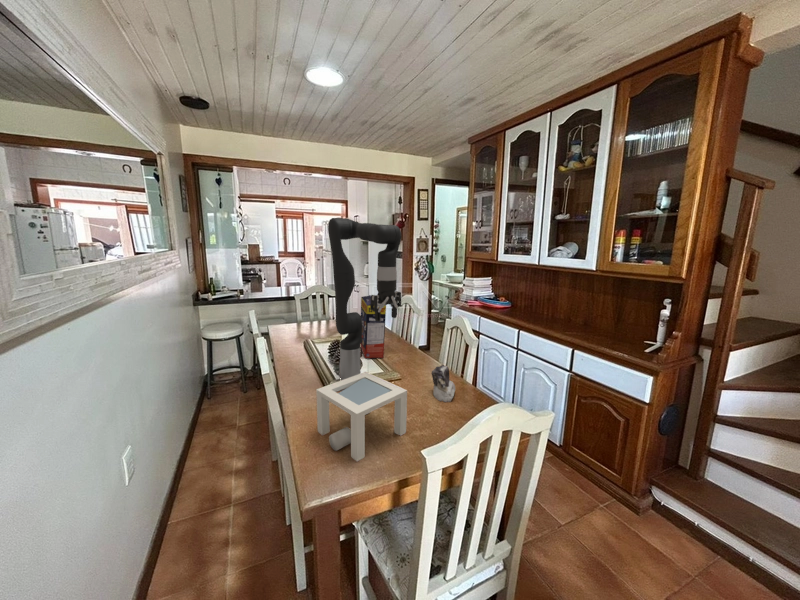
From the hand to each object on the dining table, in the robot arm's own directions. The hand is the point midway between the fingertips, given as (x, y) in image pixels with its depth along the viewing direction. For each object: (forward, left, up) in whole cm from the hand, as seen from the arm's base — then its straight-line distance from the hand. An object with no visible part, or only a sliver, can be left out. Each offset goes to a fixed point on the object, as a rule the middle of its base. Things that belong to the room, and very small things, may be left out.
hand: (386, 319), depth 130 cm
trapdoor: (+9, -20, -22) cm, 31 cm away
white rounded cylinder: (+10, -26, -33) cm, 44 cm away
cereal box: (-51, +37, -36) cm, 73 cm away
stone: (+12, +23, -36) cm, 45 cm away
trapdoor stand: (+9, -20, -36) cm, 42 cm away
